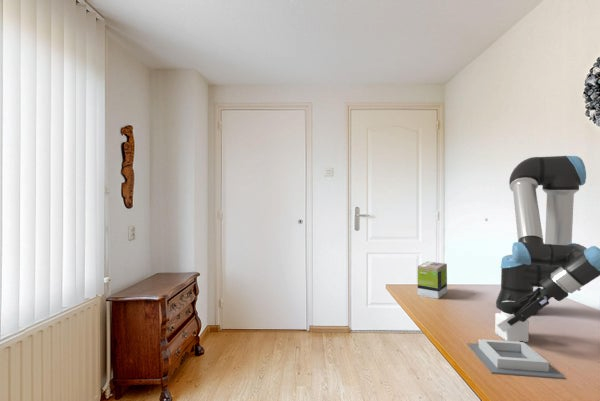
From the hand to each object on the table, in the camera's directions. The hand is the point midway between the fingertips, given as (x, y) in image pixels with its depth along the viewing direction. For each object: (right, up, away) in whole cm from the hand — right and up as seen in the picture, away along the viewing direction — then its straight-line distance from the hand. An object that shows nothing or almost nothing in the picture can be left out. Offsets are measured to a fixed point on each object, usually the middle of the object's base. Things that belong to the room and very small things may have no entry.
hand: (500, 323), depth 114 cm
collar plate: (-8, -5, -17) cm, 20 cm away
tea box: (-4, -4, +50) cm, 50 cm away
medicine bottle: (+3, -4, -2) cm, 5 cm away
